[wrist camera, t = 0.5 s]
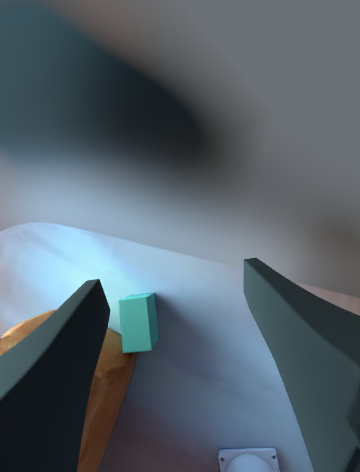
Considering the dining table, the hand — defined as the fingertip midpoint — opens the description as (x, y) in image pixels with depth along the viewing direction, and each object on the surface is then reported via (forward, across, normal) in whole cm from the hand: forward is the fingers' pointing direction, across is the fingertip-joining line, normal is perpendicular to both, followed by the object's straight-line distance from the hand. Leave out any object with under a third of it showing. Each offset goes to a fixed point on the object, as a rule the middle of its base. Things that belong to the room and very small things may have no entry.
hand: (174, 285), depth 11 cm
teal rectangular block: (+18, +7, +20) cm, 27 cm away
